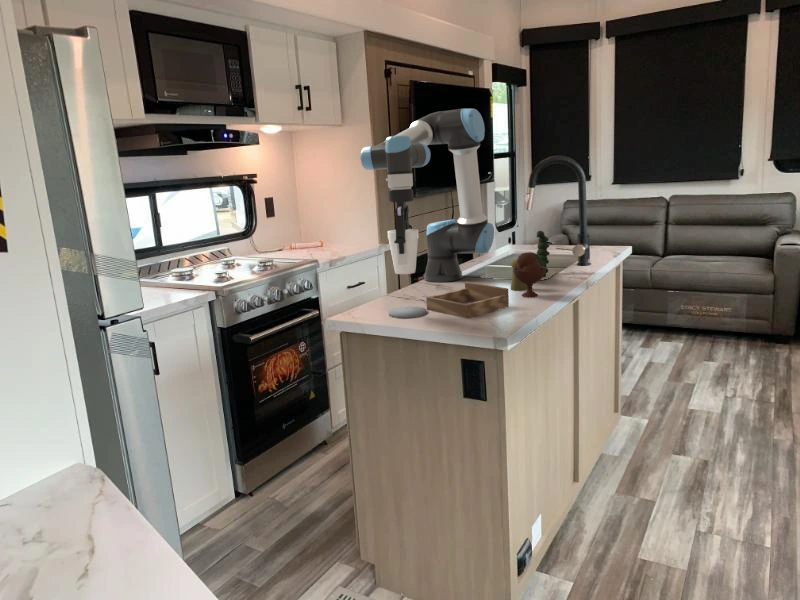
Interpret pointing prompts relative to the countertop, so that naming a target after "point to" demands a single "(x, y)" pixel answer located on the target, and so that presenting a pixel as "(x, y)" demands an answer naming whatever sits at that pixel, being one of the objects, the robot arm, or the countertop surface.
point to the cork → (516, 280)
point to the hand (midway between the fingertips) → (404, 261)
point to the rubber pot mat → (407, 312)
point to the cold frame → (481, 294)
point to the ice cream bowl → (529, 272)
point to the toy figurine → (542, 250)
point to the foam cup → (411, 246)
